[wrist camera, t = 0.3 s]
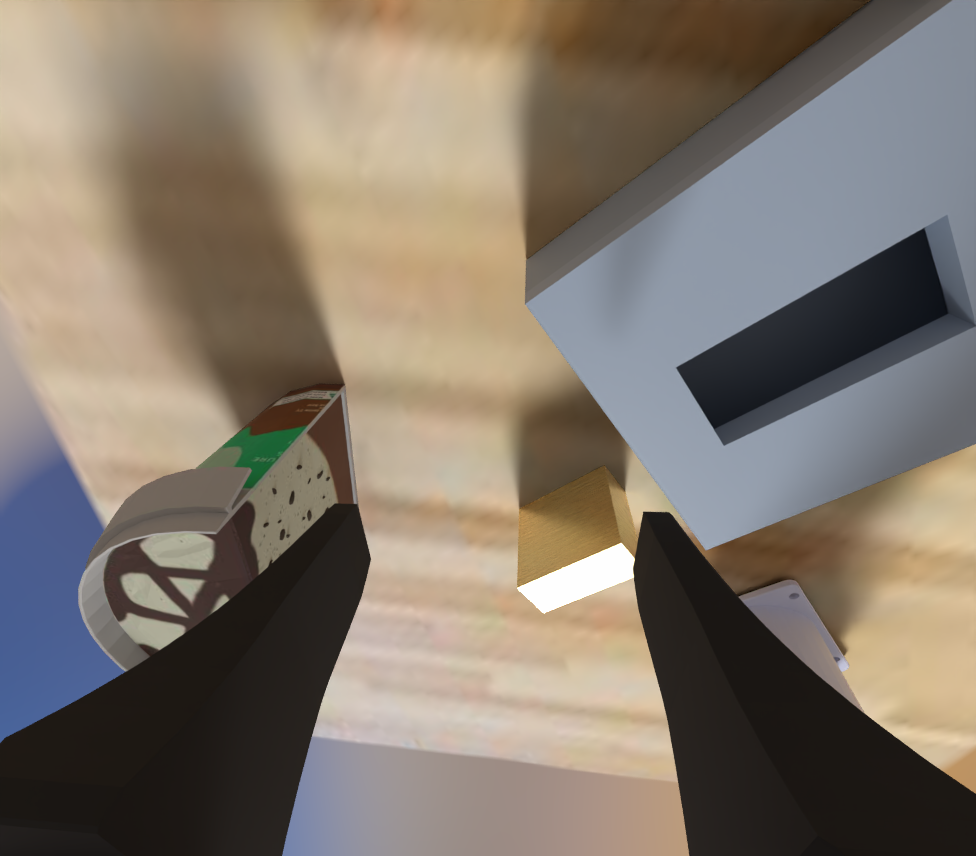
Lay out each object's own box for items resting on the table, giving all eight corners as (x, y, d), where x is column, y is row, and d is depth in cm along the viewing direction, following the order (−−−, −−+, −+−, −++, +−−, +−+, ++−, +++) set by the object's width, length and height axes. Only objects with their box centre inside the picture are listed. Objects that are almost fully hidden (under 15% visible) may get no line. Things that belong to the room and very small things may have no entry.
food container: (201, 340, 20) (-26, 492, 12) (341, 353, 20) (210, 517, 12) (258, 539, 27) (138, 725, 19) (363, 550, 27) (289, 742, 19)
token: (625, 491, 23) (646, 572, 19) (541, 531, 25) (543, 612, 21) (604, 464, 23) (621, 543, 18) (519, 508, 24) (517, 588, 20)
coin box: (972, 327, 18) (1109, 391, 14) (672, 469, 22) (705, 550, 18) (883, -10, 13) (1052, -71, 9) (526, 260, 18) (525, 304, 13)
